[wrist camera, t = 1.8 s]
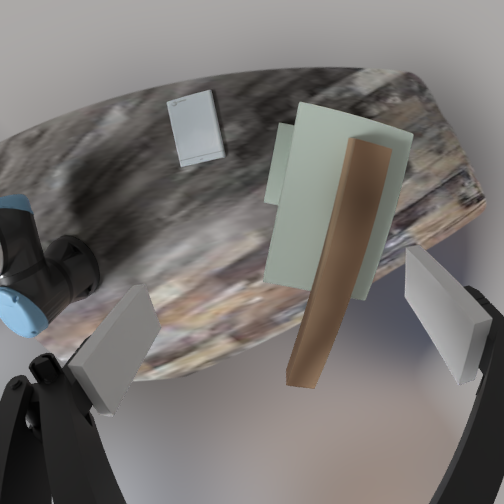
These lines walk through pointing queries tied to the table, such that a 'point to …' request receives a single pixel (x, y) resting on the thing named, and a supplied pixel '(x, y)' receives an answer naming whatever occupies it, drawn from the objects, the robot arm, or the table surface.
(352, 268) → the walnut bar
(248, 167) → the table surface
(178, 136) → the hard drive
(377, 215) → the sage stand
